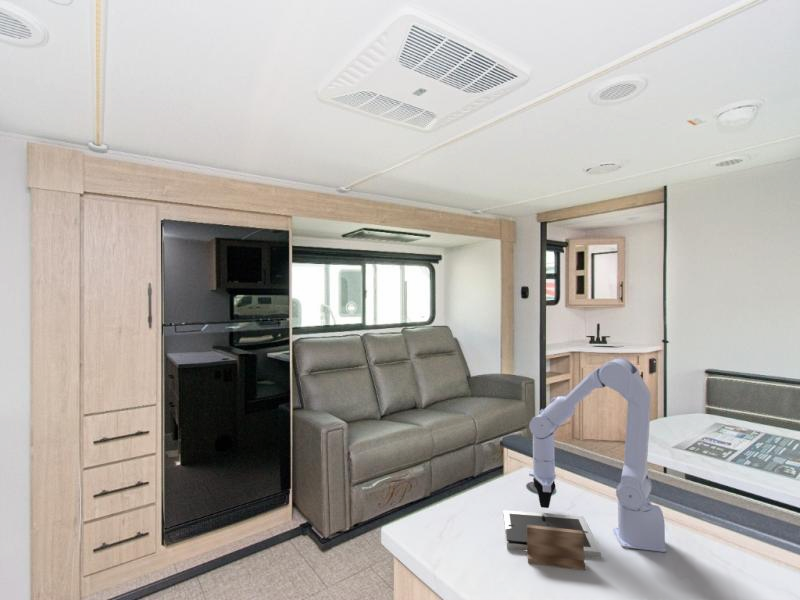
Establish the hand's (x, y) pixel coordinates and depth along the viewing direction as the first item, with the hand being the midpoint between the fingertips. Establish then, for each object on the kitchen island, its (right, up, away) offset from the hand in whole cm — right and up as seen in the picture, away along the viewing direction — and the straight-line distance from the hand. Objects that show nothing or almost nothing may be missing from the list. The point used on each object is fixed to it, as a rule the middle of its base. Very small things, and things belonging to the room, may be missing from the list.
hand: (544, 506), depth 114 cm
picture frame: (-3, -2, -11) cm, 12 cm away
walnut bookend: (-5, -1, -22) cm, 23 cm away
